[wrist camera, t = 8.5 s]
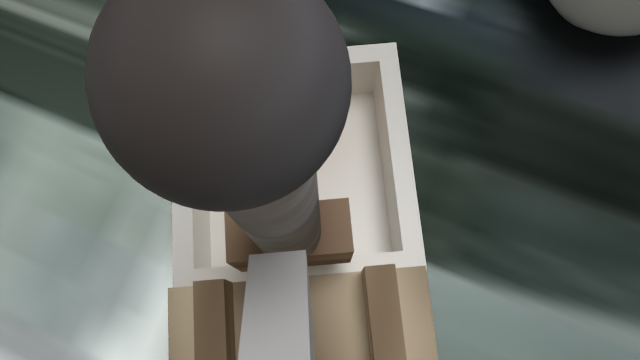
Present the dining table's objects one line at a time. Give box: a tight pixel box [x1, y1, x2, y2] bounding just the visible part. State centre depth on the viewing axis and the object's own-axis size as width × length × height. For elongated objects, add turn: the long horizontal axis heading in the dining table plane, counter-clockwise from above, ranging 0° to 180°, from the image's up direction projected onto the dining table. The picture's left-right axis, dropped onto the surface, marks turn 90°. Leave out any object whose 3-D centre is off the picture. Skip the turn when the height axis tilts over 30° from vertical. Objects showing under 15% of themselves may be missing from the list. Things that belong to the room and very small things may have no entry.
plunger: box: [85, 0, 354, 272], centre depth 14 cm, size 5×4×18 cm
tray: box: [172, 42, 427, 288], centre depth 29 cm, size 12×12×4 cm
